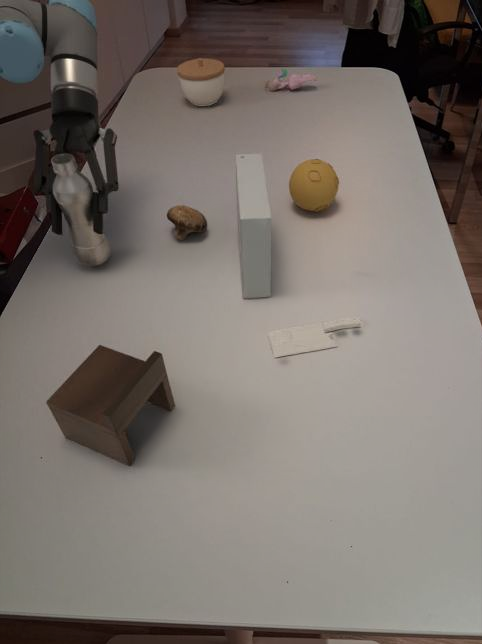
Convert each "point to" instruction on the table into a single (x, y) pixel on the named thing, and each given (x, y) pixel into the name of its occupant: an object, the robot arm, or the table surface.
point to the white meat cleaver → (307, 337)
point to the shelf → (109, 399)
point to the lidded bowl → (202, 80)
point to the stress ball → (313, 185)
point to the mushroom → (186, 221)
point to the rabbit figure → (292, 82)
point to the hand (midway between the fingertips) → (77, 232)
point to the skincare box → (253, 226)
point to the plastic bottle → (78, 211)
